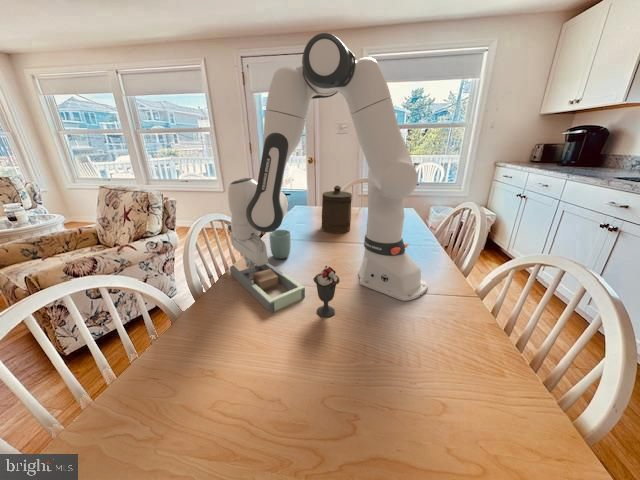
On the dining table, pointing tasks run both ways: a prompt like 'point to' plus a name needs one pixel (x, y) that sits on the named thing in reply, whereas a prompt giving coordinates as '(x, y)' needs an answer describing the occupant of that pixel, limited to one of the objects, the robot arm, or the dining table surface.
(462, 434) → the dining table surface
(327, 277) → the sundae
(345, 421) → the dining table surface
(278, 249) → the cup
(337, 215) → the wooden container
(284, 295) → the box
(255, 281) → the block
